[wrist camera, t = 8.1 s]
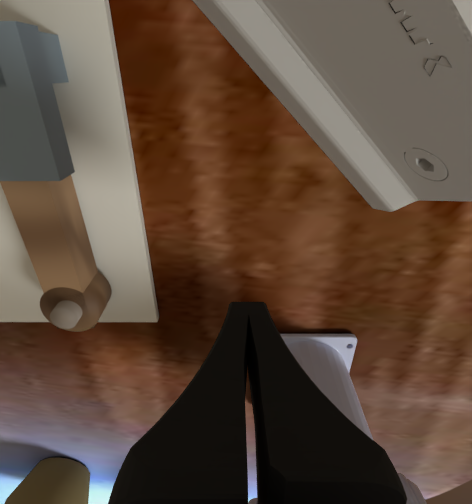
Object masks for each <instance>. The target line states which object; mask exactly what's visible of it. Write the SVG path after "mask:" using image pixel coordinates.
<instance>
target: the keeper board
mask: <svg viewBox="0 0 472 504" xmlns="http://www.w3.org/2000/svg"><path fill="white" fill-rule="evenodd" d="M69 175H71V176H72V180H73V183H74V187H75V190H76V194H77V198H78V201H79V205H80V208H81V212H82V216H83V219H84V223H85V226H86V230H87V234H88V237H89V241H90V244H91V248H92V252H93V255H94V259H95V262H96V266H97V270H98V272H100V273H101V274H102V275H103V276H104V277H105V278H106V279H107V280H108V282H109V284H110V286H111V290H112V294H111V298H110V299H109V301H108V303H107V306H106V308H105V309H104V311H103V313H102V315H101V317H100V318H99V320H98V322H158V319H159V312H158V306H157V300H156V294H155V287H154V281H153V275H152V269H151V262H150V256H149V250H148V244H147V238H146V231H145V225H144V219H143V213H142V206H141V200H140V194H139V188H138V181H137V175H136V169H135V163H134V156H133V150H132V144H131V138H130V132H129V125H128V119H127V113H126V107H125V100H124V94H123V88H122V82H121V75H120V69H119V63H118V57H117V51H116V44H115V38H114V32H113V26H112V19H111V13H110V7H109V1H108V0H0V181H61V180H63V179H64V178H66V177H68V176H69ZM43 294H44V293H43V290H42V288H41V285H40V283H39V280H38V277H37V275H36V272H35V270H34V267H33V265H32V262H31V260H30V257H29V255H28V252H27V250H26V247H25V244H24V242H23V239H22V237H21V234H20V232H19V229H18V227H17V224H16V222H15V219H14V217H13V214H12V212H11V209H10V206H9V204H8V201H7V199H6V196H5V194H4V191H3V189H2V186H1V184H0V322H49V321H48V320H47V319H46V318H45V316H44V315H43V313H42V311H41V309H40V299H41V297H42V295H43Z"/></svg>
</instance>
